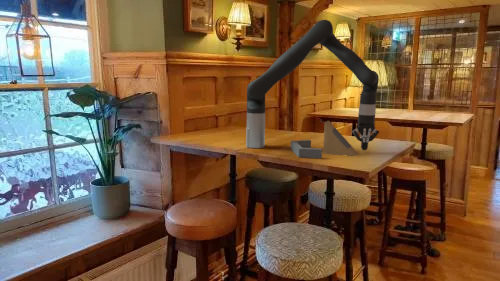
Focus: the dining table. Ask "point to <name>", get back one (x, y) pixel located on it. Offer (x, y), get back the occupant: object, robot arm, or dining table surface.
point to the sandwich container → (336, 142)
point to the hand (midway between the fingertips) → (364, 149)
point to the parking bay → (305, 149)
